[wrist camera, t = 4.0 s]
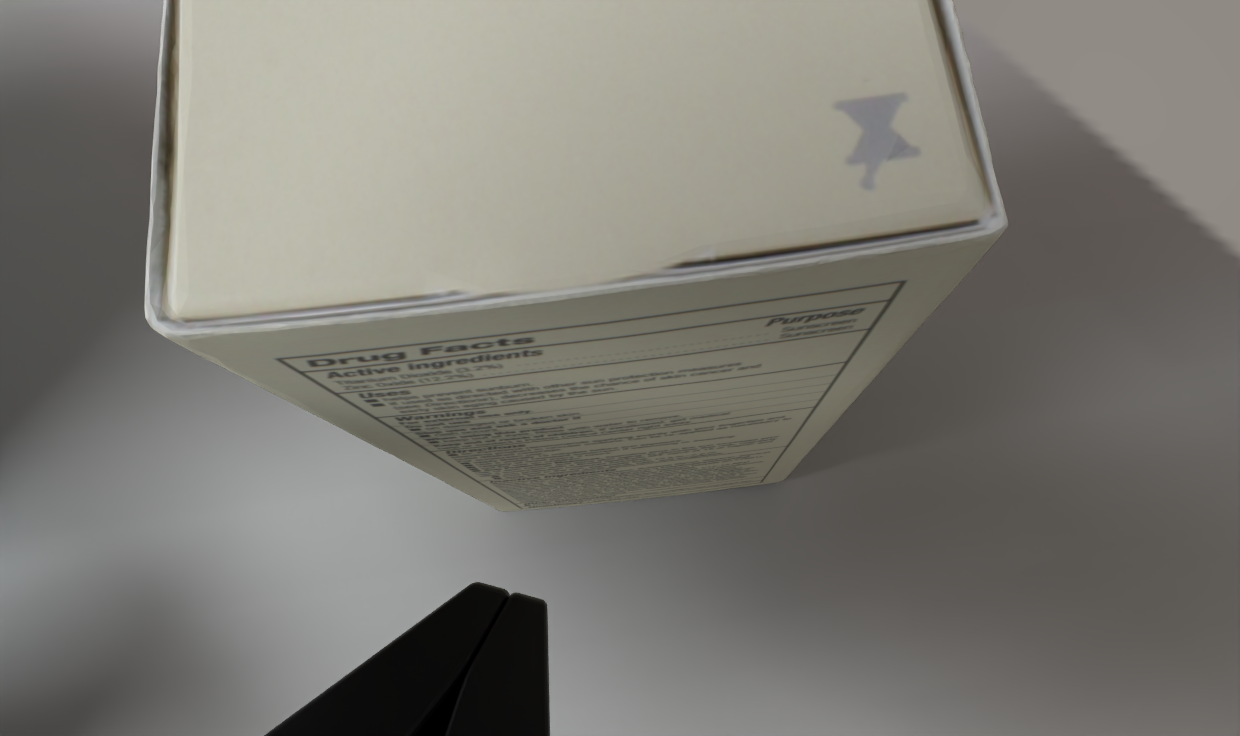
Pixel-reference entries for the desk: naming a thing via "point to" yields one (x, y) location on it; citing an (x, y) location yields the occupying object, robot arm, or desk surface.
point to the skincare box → (565, 223)
